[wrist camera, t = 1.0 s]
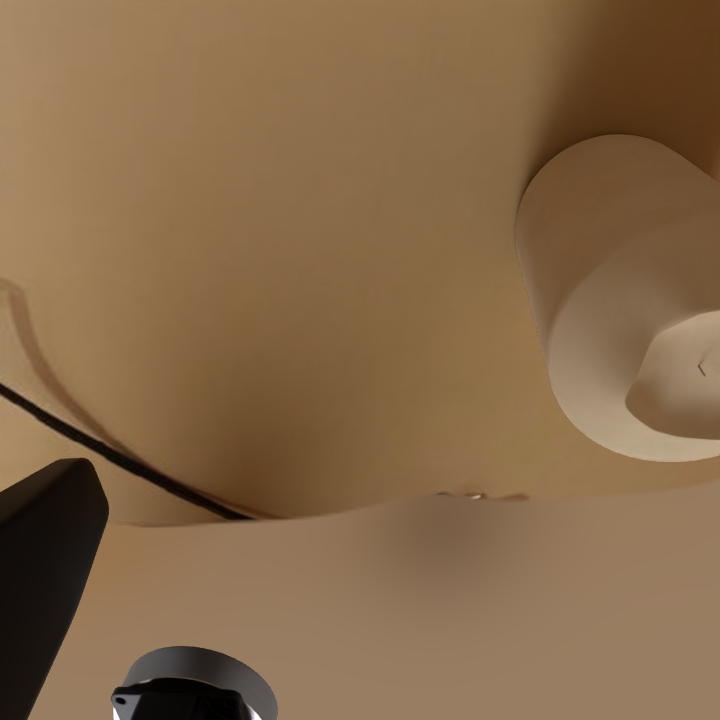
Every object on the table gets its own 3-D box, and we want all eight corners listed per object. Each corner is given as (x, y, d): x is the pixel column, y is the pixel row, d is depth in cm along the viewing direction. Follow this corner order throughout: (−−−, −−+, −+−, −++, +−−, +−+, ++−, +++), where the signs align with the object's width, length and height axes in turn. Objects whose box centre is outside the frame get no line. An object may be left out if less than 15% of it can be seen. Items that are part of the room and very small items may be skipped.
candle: (515, 310, 23) (557, 511, 14) (510, 142, 20) (558, 259, 11) (689, 298, 22) (850, 504, 13) (708, 120, 19) (922, 229, 11)
